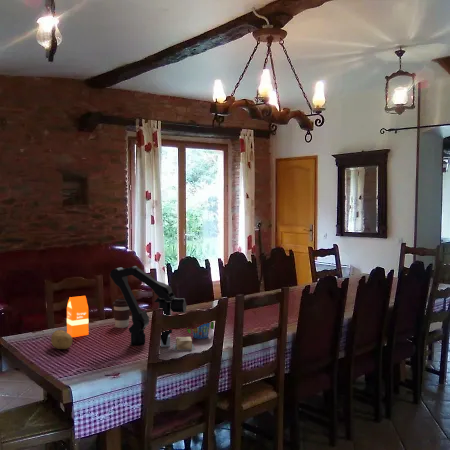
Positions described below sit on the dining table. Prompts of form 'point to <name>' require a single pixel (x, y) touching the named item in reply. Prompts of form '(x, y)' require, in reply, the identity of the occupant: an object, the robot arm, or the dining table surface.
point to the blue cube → (166, 342)
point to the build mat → (183, 349)
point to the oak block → (183, 343)
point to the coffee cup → (121, 313)
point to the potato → (61, 339)
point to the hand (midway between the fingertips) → (164, 343)
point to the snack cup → (201, 331)
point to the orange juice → (77, 316)
